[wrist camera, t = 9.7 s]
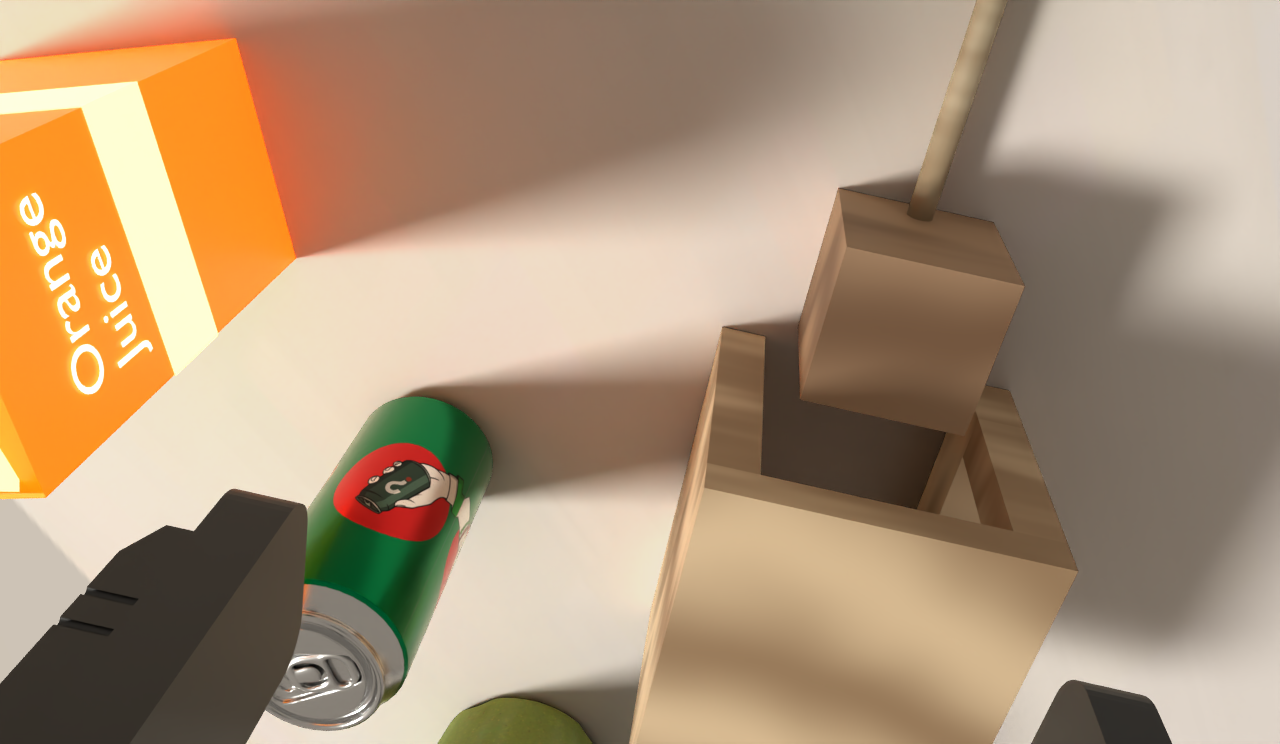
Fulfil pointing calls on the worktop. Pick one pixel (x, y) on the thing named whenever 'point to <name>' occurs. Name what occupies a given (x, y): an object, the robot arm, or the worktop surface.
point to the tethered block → (912, 285)
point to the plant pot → (513, 725)
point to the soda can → (381, 558)
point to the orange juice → (121, 238)
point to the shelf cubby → (847, 588)
